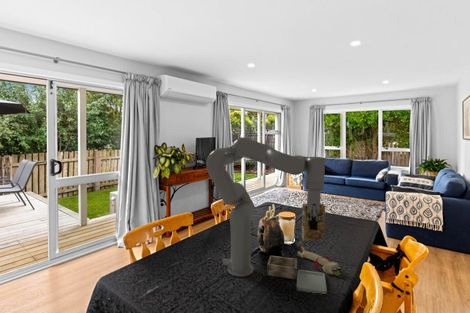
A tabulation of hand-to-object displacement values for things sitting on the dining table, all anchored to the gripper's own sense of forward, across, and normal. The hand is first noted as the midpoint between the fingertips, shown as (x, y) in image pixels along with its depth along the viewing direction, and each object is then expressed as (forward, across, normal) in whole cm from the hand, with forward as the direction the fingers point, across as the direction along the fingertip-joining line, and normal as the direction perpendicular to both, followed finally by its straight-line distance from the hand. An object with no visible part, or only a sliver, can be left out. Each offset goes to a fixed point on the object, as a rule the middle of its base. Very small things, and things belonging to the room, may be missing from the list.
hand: (313, 226), depth 114 cm
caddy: (+25, -6, -13) cm, 29 cm away
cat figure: (+26, -18, +4) cm, 31 cm away
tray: (+25, 0, 0) cm, 25 cm away
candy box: (+6, 0, 0) cm, 6 cm away
